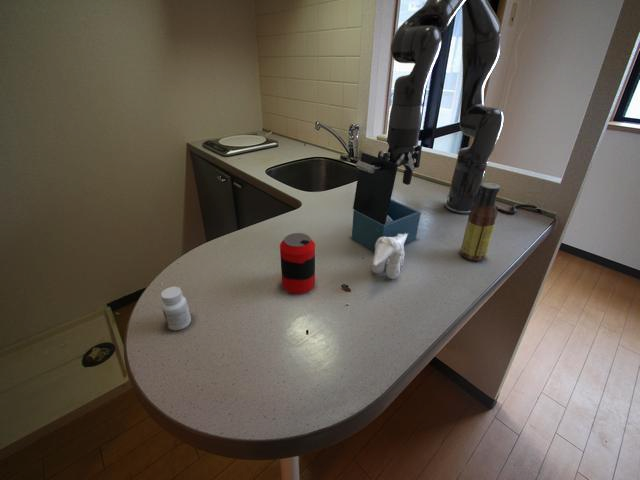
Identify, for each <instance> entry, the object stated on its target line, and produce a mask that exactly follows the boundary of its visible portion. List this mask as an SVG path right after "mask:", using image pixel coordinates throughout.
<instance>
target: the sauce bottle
mask: <svg viewBox="0 0 640 480" xmlns="http://www.w3.org/2000/svg"><path fill="white" fill-rule="evenodd" d="M500 188H501V187H500V185H499V184H497V183H492V182H482V184H481V187H480V195H479V198H478V201H477V203H476V204H475V205H474V206H473V207H472V208H471V211H470V213H469V214H468V218H467V222H466V226H465V230H464V234H463V238H462V239H463V240H462V243H461V248H460V249H461V250H460V253H461V255H462V256H463V258H465V259H467V260H470V261H474V262H478V261H483V260H485V258H486V255H487V253H488V250H489V247H490V243H491V240H492V237H493V233H494V229H495V226H496V219H497V216H498V210H497V209H496V206H497V205H496V200H497V197H498V193H499V192H500V190H501V189H500Z"/></svg>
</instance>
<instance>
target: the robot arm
mask: <svg viewBox="0 0 640 480" xmlns="http://www.w3.org/2000/svg"><path fill="white" fill-rule="evenodd" d="M460 10H461V63H462V75H461V77H462V79H461V80H462V81H461V101H460V110H459V111H460V112H459V129H460V131H461V133H462V134H463V135H465V136H466V137H470V138H473V140H472V142H471V145H470V146H468V147H463V148H460V149H459V151H458V153H457V157H456V161H455V166H454V170H453V174H452V178H451V182H450V186H449V191H448V193H447V194H446V203H445V208H446V209H447V210H448V211H450V212H452V213H457V214H463V215H465V214H466V215H469V214H470V211H471V208H472V207H473V206H474V205H475V204H476V203H477V201H478V198H479V195H480V187H481V184H483V180H484V176H485V173H486V169H487V166H488V162H489V159H490V157H491V156H492V154H493V152H494V150H495V148H496V144H497V142H498V139H499V136H500V133H501V131H502V128H503V123H504V114H503V111H502V110H501V109H499V108H496V107H491V106H486V105H484V90H485V86H486V84H487V81H488V79H489V77H490V75H491V73H492V71H493V69H494V68H495V66H496V64H497V62H498V59H499V56H500V54H501V53H500V51H501V35H502V34H501V33H502V28H501V27H502V26H501V23H500V20H499V18H498V16H497V14H496V12H495V11H494V9H493V8H492V6H491V3H489V1H488V0H426V1H425V2H424V4H423V6H422V7H420V8H419V9H418V10H416V11H415V12H414V13H413V14H412V15H411V16H410V17H408V18H407V19H406V20H405V21H404V22H403V23H402V24H401V25H400V26H399V27H398V28H397V30H396V31H395V33H394V35H393V37H392V39H391V43H390V54H391V57H392V58H393V60H394V61H395V62H396V63H400V64H413V68H412V70H411V71H410V73H409V74H405V75H401V76H398V77H397V78H396V79H395V82H394V86H393V93H392V104H391V108H390V112H389V119H388V128H387V136H386V143H387V145H388V149H387V151H383V150H379V151H378V152H377V153H378V154H377V157H379V158H382V159H385V160H388V161H391V162H394V163H397V164H398V168H399V167H402V166H403V168H404V170H403V176H402V184H403V185H406V186H409V185H411V182H412V179H413V174H414V173H413V172H415V170H416V169H418V168H419V167H420V166H421V165H420V164H421V156H422V149H423V145H419V144H418V142H419V137H420V130H421V126H422V125H421V124H422V118H423V105H424V100H425V99H424V98H425V93H426V88H427V84H428V82H429V79H430V76H431V74H432V71H433V68H434V66H435V64H436V62H437V59H438V57H439V54H440V53H441V48H442V33H443V32H444V31H445V30H446V29H448V27H449V26H450V24H451V23H452V21H453V20H454V19H455V17H456V16H457V14H458V13H459V11H460ZM536 206H537V205H535V204H529V203H522V204H520V203H519V204H513V205H512V206H511V210H507V209H503V208H501V207H500V206H497V205H496V209H497V211H499V212H501V213H504V214H507V215H508V214H509V215H514V214H516V213H517V209H516V208H531V209H534V210H536V211H538V213H541V214H543V213H544V210H543V209H542V208H540V209H535V208H537V207H538V206H537V207H536Z"/></svg>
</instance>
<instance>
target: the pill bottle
mask: <svg viewBox="0 0 640 480" xmlns="http://www.w3.org/2000/svg"><path fill="white" fill-rule="evenodd" d="M160 297H161V301H162V302H161V306H160V307H161V310H162V313H163V316H164V320H165V323H166V325H167V328H168V329H169V330H172V331H180V330H183V329H185V328H187V327H188V326H189V325H190V323H192V316H191V313H190V308H189V305H188V301H187V298H186V297H185V296H184V295H183V293H182V289H181V288H180V287H179V286H169V287H167V288H165V289H164V290H162V291H161V293H160Z"/></svg>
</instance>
